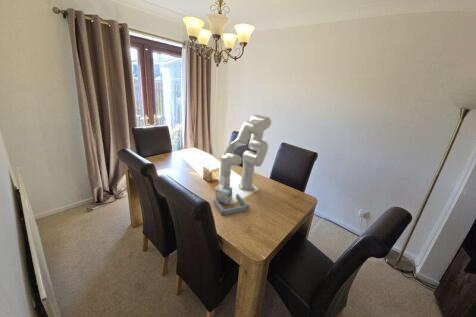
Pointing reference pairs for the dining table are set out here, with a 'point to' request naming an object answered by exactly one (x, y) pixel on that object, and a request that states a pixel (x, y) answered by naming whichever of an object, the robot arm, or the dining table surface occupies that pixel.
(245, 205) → the dock
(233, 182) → the dining table surface
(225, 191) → the light bulb box
